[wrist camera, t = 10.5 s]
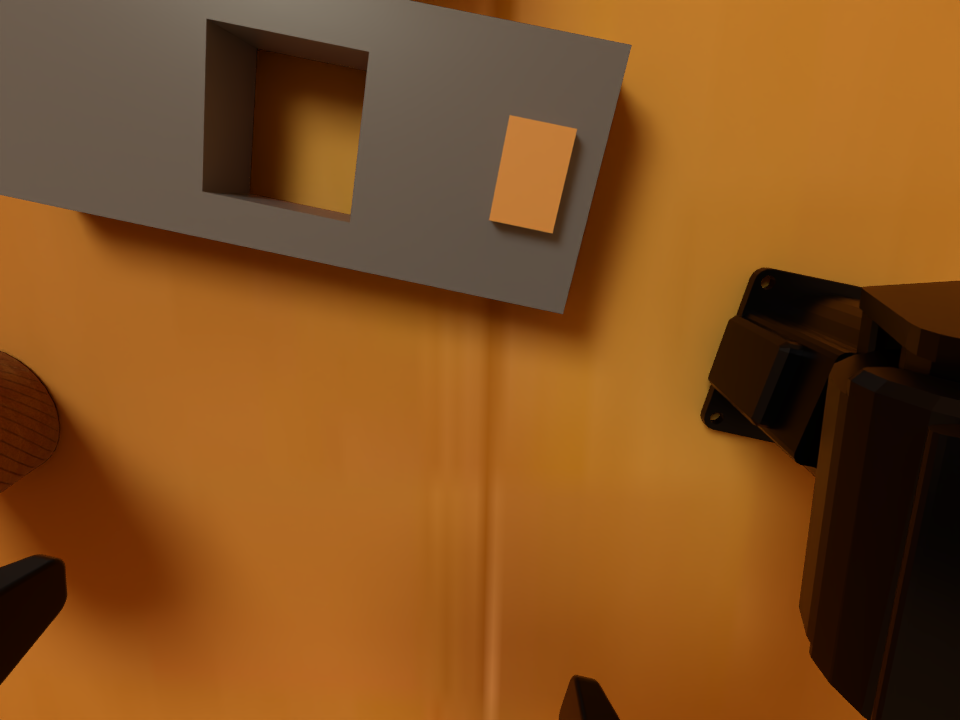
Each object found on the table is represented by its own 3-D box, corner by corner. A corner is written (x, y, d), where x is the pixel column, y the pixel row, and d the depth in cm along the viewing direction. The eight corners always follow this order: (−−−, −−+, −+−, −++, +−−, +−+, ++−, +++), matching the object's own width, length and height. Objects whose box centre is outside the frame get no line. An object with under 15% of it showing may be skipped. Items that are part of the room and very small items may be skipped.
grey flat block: (613, 71, 17) (636, 38, 14) (556, 298, 20) (564, 317, 16) (51, -43, 17) (-64, -103, 14) (65, 194, 20) (-30, 191, 16)
